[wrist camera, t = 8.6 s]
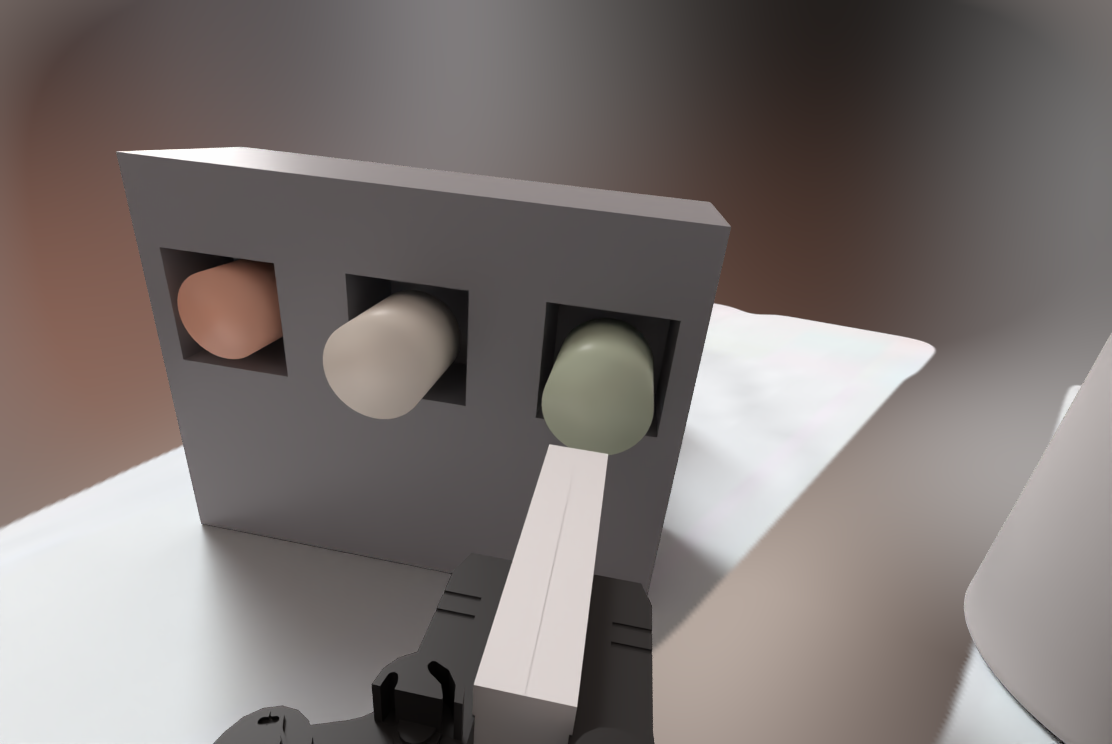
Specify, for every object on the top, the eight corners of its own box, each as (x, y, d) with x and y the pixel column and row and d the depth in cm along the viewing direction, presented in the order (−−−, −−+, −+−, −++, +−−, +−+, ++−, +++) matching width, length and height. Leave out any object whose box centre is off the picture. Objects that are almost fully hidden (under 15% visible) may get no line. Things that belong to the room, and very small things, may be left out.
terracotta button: (320, 333, 27) (313, 256, 25) (268, 365, 23) (256, 278, 21) (249, 322, 27) (237, 246, 25) (187, 352, 23) (169, 265, 22)
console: (644, 516, 32) (710, 202, 24) (643, 611, 26) (730, 226, 18) (283, 451, 34) (241, 147, 27) (201, 523, 28) (116, 151, 21)
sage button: (644, 410, 22) (661, 325, 21) (643, 464, 19) (663, 365, 17) (555, 396, 23) (564, 311, 21) (537, 445, 19) (546, 347, 18)
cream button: (459, 381, 23) (461, 296, 22) (424, 426, 20) (424, 329, 18) (376, 367, 24) (372, 283, 22) (327, 410, 20) (318, 313, 19)
